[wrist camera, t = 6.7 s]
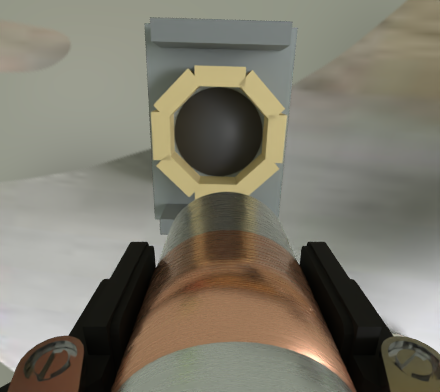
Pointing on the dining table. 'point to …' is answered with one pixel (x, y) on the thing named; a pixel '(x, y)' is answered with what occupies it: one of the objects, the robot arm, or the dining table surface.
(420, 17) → the dining table surface
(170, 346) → the cocktail shaker
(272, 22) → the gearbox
